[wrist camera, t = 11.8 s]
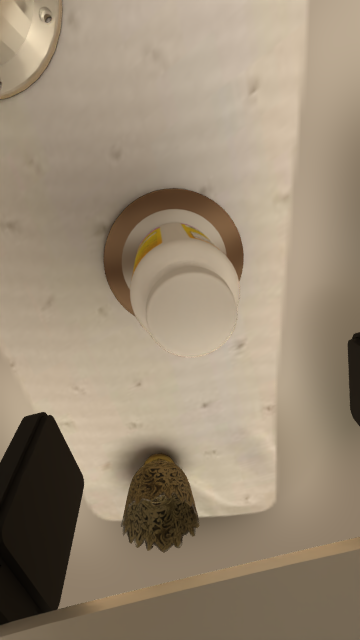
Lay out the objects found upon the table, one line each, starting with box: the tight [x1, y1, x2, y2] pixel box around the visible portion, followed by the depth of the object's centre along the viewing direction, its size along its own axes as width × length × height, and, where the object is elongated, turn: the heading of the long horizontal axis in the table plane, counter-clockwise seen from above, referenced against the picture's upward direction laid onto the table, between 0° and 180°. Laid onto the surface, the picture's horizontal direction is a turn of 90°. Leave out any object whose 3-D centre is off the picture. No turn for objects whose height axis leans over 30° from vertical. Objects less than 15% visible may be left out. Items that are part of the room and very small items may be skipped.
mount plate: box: [104, 189, 244, 316], centre depth 30 cm, size 12×12×2 cm
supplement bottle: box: [130, 223, 240, 357], centre depth 23 cm, size 7×7×13 cm
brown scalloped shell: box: [121, 454, 199, 552], centre depth 36 cm, size 8×7×8 cm
